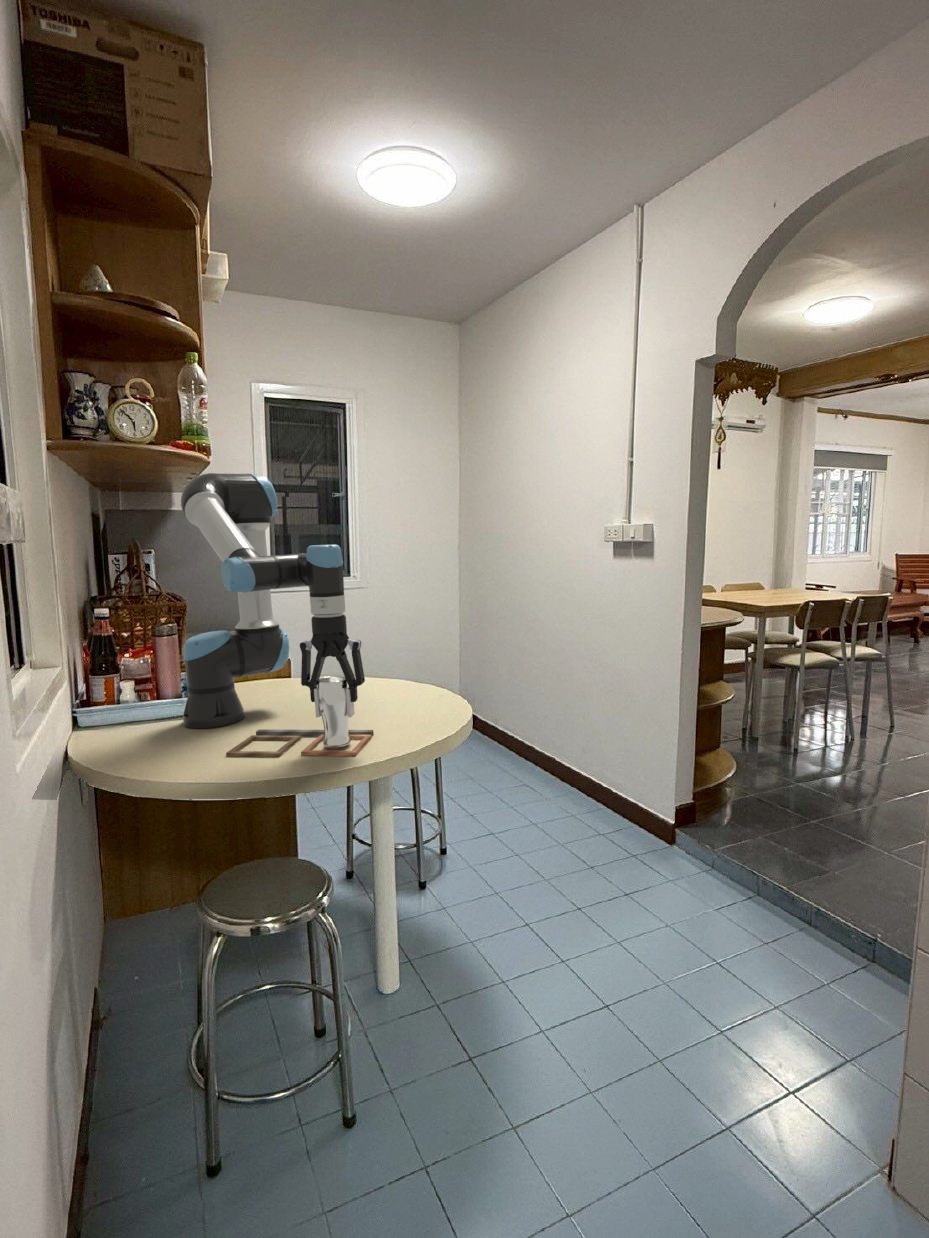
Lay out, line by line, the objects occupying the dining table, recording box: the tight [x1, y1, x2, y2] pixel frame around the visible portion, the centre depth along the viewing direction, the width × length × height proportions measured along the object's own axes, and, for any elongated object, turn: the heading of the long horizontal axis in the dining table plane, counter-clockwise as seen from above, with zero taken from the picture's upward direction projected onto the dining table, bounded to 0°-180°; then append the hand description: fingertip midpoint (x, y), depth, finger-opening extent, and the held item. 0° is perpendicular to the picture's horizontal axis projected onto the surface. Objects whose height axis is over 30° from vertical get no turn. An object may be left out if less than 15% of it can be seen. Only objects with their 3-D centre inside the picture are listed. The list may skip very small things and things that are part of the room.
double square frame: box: [225, 729, 374, 758], centre depth 151 cm, size 29×16×1 cm, turn 82°
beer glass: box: [317, 675, 351, 749], centre depth 148 cm, size 7×7×15 cm
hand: (335, 715), depth 148 cm, fingers closed on beer glass, 7 cm apart
